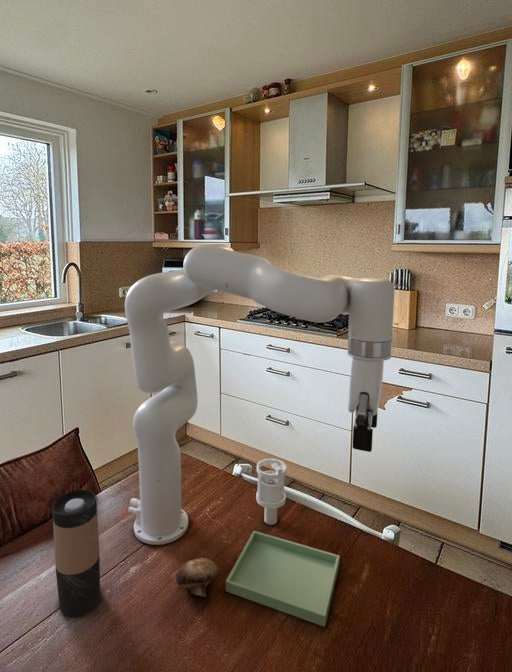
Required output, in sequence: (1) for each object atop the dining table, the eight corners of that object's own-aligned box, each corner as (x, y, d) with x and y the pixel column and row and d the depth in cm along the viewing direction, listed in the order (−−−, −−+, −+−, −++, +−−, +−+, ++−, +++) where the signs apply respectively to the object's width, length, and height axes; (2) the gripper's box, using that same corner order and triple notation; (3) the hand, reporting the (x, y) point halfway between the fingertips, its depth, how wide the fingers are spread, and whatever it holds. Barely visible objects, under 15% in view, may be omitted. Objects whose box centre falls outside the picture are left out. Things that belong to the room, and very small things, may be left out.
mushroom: (209, 599, 76) (203, 559, 78) (171, 607, 77) (166, 567, 80) (227, 588, 82) (221, 551, 85) (191, 595, 84) (186, 559, 87)
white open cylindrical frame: (266, 534, 97) (267, 473, 95) (250, 516, 103) (250, 458, 101) (291, 524, 100) (292, 464, 98) (274, 507, 106) (275, 451, 104)
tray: (225, 591, 81) (225, 581, 81) (253, 538, 95) (253, 530, 95) (325, 627, 74) (325, 616, 74) (339, 564, 88) (339, 555, 88)
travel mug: (109, 589, 82) (105, 493, 79) (82, 623, 74) (77, 519, 72) (77, 578, 84) (72, 485, 81) (48, 611, 77) (41, 510, 74)
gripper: (354, 334, 85) (351, 415, 87) (340, 357, 69) (336, 455, 71) (393, 338, 82) (389, 421, 84) (388, 363, 66) (383, 465, 69)
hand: (365, 437), depth 78 cm, fingers open, 9 cm apart
